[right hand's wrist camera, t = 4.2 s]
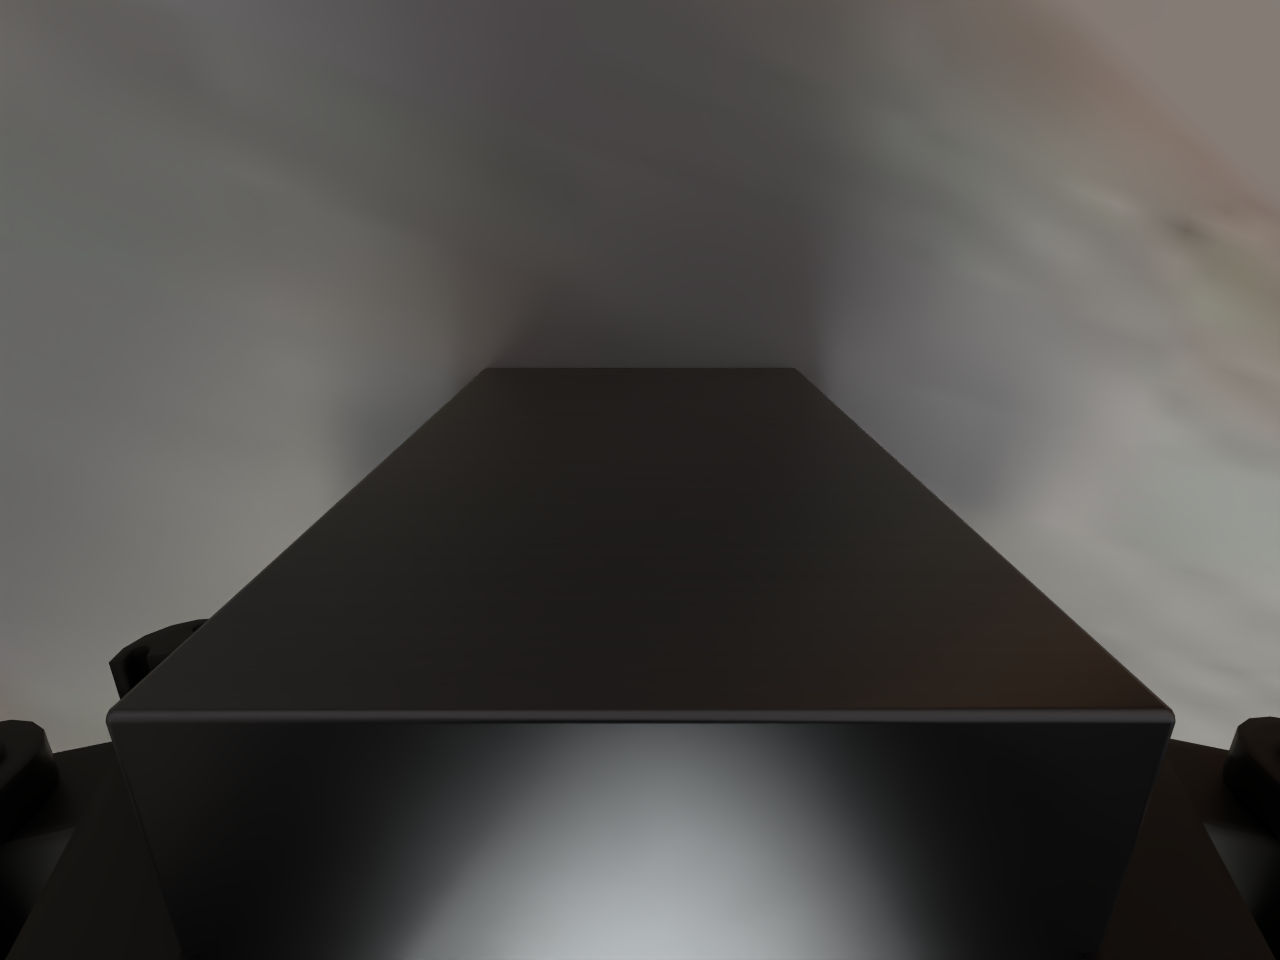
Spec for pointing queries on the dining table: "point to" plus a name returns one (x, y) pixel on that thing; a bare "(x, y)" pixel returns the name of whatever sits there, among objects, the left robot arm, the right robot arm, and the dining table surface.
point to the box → (640, 704)
